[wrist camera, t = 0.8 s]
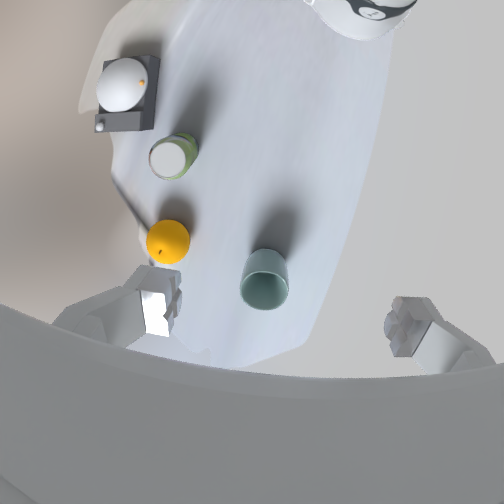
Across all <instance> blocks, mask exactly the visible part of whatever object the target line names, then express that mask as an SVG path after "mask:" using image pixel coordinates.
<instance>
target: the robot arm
mask: <svg viewBox="0 0 504 504" xmlns="http://www.w3.org/2000/svg"><path fill="white" fill-rule="evenodd" d="M303 1H304V2H305V3H307V4H308V5H310V6H311V7H313V9H314V10H315V11H316V12H317V14H318V15H319V16H320V18H321V19H322V20H323V21H324V22H325V23H326V24H327V25H328V26H329V27H330V28H332V29H333V30H334V31H336V32H338V33H340V34H342V35H344V36H346V37H349V38H352V39H356V40H374V39H378V38H380V37H382V36H384V35H385V34H387V33H388V32H389V31H390V30H392V29H394V30H396V29H400V28H402V27H403V26H404V18H406V17H407V16H408V14H410V12H411V8H412V7H413V5H414V4H415V3H416V1H417V0H303ZM180 283H181V273H180V271H177V270H171V269H165V268H159V267H153V266H148V265H140V266H139V267H138V268H137V269H136V271H135V272H134V273H133V275H131V277H130V278H129V279H128V280H127V282H126V283H125V284H124V285H123V287H121V286H118V287H116V288H113V289H110V290H108V291H105V292H103V293H100V294H98V295H95V296H93V297H90V298H88V299H85V300H83V301H80V302H78V303H76V304H73V305H70V306H68V307H66V308H65V309H64V311H63V312H62V313H61V314H60V315H59V316H58V317H57V318H56V320H55V321H54V322H53V323H52V324H48V323H46V322H43V321H41V320H38V319H36V318H34V317H31V316H29V315H26V314H24V313H22V312H19V311H17V310H15V309H13V308H10V307H8V306H6V305H4V304H2V303H0V504H504V363H500V364H496V363H495V361H494V359H493V358H492V356H491V354H490V353H489V351H488V350H487V348H486V347H484V346H483V345H481V344H480V343H478V342H477V341H476V340H474V339H473V338H471V337H470V336H468V335H467V334H466V333H464V332H463V331H461V330H460V329H458V328H457V327H455V326H454V325H452V324H451V323H449V322H448V321H444V320H443V318H442V316H441V315H440V313H439V312H438V310H437V309H436V307H435V306H434V305H433V303H432V302H431V300H430V299H429V298H427V297H400V296H397V297H396V298H395V299H394V300H393V303H392V309H393V310H392V311H391V312H389V313H388V314H387V317H386V319H385V322H384V332H385V335H386V337H387V338H388V339H389V340H390V341H391V343H390V348H391V350H392V352H393V355H394V357H412V359H413V360H414V361H415V362H416V363H417V364H418V365H419V366H420V367H421V368H422V369H423V370H424V371H425V372H426V374H427V375H420V376H408V377H390V378H315V377H314V378H313V377H296V376H282V375H271V374H261V373H252V372H244V371H236V370H229V369H222V368H216V367H210V366H204V365H198V364H192V363H187V362H182V361H177V360H172V359H167V358H163V357H158V356H154V355H150V354H145V353H141V352H137V351H133V350H129V349H126V347H127V346H129V345H130V344H132V343H133V342H134V341H136V340H137V339H139V338H140V337H142V336H143V335H144V334H146V332H149V333H154V334H159V335H165V336H169V334H170V332H171V330H172V327H173V325H174V318H175V317H177V316H178V314H179V312H180V308H181V303H182V292H181V290H180V289H179V285H180Z"/></svg>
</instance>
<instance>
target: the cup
mask: <svg viewBox="0 0 504 504" xmlns="http://www.w3.org/2000/svg"><path fill="white" fill-rule="evenodd" d="M288 291H289V281H288V271H287V266H286V263H285V260H284V258H283V257H282V256H281V255H280V254H279V253H278V252H277V251H274V250H271V249H258V250H256V251H254V252H253V253H252V254H251V255H250V256H249V258H248V259H247V261H246V263H245V266H244V269H243V273H242V278H241V283H240V295H241V298H242V300H243V301H244V302H245V303H246V304H247V305H248V306H250V307H252V308H255V309H258V310H273V309H276V308H278V307H279V306H281V305H282V304H283V303H284V301H285V300H286V298H287V296H288Z"/></svg>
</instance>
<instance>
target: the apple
mask: <svg viewBox="0 0 504 504" xmlns="http://www.w3.org/2000/svg"><path fill="white" fill-rule="evenodd" d="M146 245H147V250H148V252H149V254H150V255H151V256H152V257H153V259H155V260H156V261H158V262H160V263H163V264H173V263H176V262H178V261H180V260H181V259H182V258H184V256H185V255H186V253H187V252H188V250H189V245H190V237H189V234H188V231H187V229H186V228H185V227H184V226H183V225H182V224H181V223H179V222H178V221H175V220H162V221H159V222H157V223H156V224H154V225H153V226H152V227H151V229H150V230H149V232H148V234H147V239H146Z"/></svg>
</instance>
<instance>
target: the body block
mask: <svg viewBox="0 0 504 504" xmlns="http://www.w3.org/2000/svg"><path fill="white" fill-rule="evenodd" d="M159 66H160V59H158V58H156V57H154V56H151V55H143V56H135V57H128V58H121V59H115V60H109V61H104V64H103V72H102V74H101V76H100V78H99V80H98V84H97V98H98V101H99V114H96V115H95V133H98V132H119V131H143V130H151V129H153V126H154V112H155V101H156V91H157V82H158V74H159Z"/></svg>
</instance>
